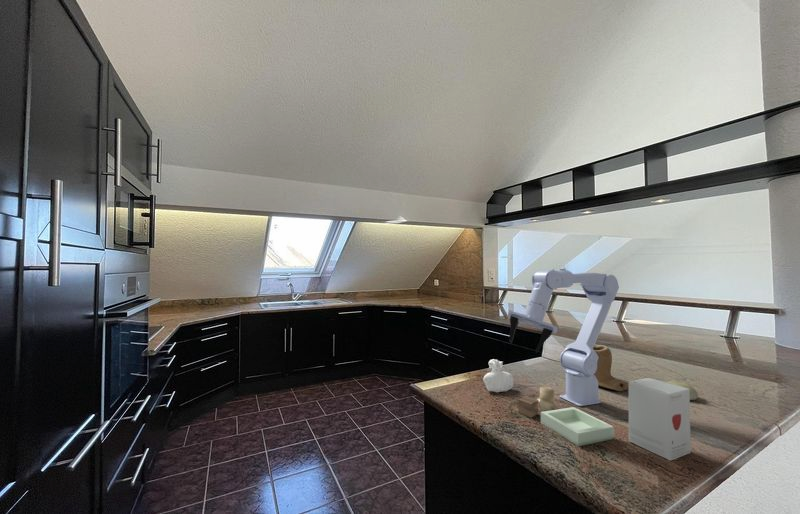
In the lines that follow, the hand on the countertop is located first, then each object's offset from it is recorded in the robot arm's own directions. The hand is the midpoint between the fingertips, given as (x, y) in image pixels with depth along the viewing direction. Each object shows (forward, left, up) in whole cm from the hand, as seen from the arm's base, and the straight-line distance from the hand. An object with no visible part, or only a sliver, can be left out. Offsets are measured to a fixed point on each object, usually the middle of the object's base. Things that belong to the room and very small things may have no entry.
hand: (523, 347), depth 94 cm
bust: (-4, -18, -19) cm, 26 cm away
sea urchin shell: (-63, +5, -20) cm, 66 cm away
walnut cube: (-1, +1, -19) cm, 19 cm away
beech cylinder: (-9, 0, -19) cm, 21 cm away
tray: (-6, +13, -19) cm, 24 cm away
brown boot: (-45, -10, -19) cm, 50 cm away
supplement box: (-19, +25, -19) cm, 37 cm away
